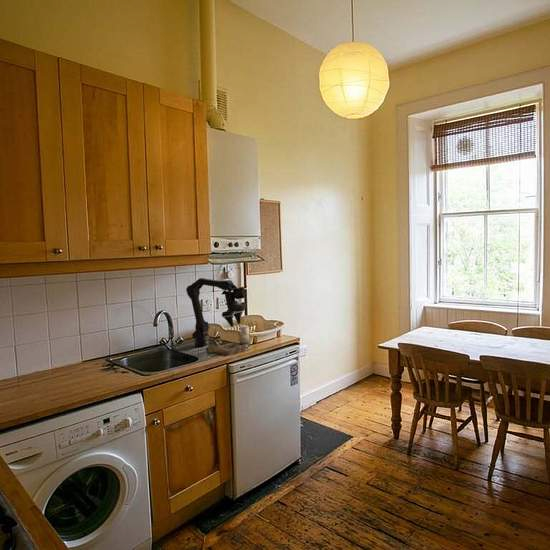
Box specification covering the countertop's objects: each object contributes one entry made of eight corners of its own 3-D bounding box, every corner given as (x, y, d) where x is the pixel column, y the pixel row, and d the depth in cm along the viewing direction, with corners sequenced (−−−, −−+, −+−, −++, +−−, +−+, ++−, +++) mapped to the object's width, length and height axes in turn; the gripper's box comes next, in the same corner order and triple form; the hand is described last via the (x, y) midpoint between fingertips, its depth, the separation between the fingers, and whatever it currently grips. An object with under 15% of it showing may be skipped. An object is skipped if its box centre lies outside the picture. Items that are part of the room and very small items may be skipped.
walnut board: (228, 355, 230) (228, 350, 230) (214, 352, 239) (214, 347, 239) (245, 350, 240) (245, 346, 239) (231, 347, 248) (231, 342, 248)
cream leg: (239, 347, 247) (238, 327, 246) (243, 345, 252) (242, 325, 251) (247, 348, 245) (246, 327, 244) (251, 346, 250) (250, 325, 249)
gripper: (235, 300, 234) (240, 326, 234) (248, 296, 251) (253, 320, 251) (218, 303, 238) (224, 329, 238) (233, 299, 255) (238, 323, 255)
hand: (235, 325), depth 246 cm, fingers open, 9 cm apart
